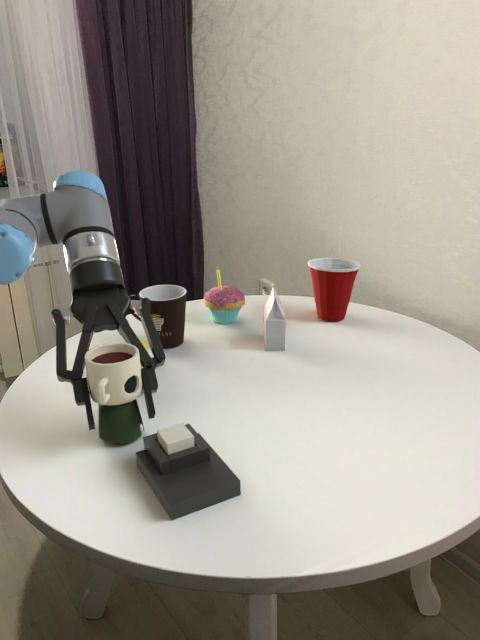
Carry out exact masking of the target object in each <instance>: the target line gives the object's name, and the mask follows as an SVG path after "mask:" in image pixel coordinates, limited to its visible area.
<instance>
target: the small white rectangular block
mask: <svg viewBox="0 0 480 640" xmlns="http://www.w3.org/2000/svg"><path fill="white" fill-rule="evenodd" d="M156 433H157V438H158V443H159V444H160V445H161V447H162V448H163V449H164V451H165V452H166V453H167V455H169V454H172V453H176V452H179V451H182V450H185V449H188V448H191V447H194V436H193V435H192V433H191V432H190V431H189V430H188V429H187V427H186V426H185V423H183V422H181V423H178V424H173V425H171V426H168V427H164V428H161V429H157V430H156Z"/></svg>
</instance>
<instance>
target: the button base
mask: <svg viewBox="0 0 480 640" xmlns="http://www.w3.org/2000/svg"><path fill="white" fill-rule="evenodd" d="M184 425H185V426H186V427H187V429H188V430H189V431H190V432H191V433H192V435H193V436H194V447H191V448H188V449H185V450H182V451H179V452H176V453H172V454H169V455H167V453H166V452H165V451H164V449H163V448H162V447H161V445H160V444H159V443H158V438H157V432H155V433H152V434H148V435H145V436H142V440H143V449H141V450H139V451H137V452H136V451H135V459H136V466H137V468H138V470H139V471H140V473H141V475H142V476H143V478H144V479H145V481H146V482H147V484H148V486H149V487H150V488H151V490H152V492H153V493H154V495H155V496H156V498H157V500H158V501H159V503H160V504H161V506H162V507H163V509H164V511H165V512H166V514H167V515H168V517H169V518H170V520H171V521H175V520H177V519H181V518H183V517H185V516H188V515H191V514H193V513H196V512H199V511H202V510H204V509H207V508H210V507H212V506H215V505H218V504H221V503H224V502H226V501H229V500H231V499H234V498H237V497H239V496H241V495H242V494H241V493H242V492H241V479H240V478H239V477H238V476H237V474H236V473H234V472H233V470H232V469H231V468H230V467H229V466H228V465H227V463H226V462H225V461H224V460H223V459H222V458H221V456H219V454H218V453H217V452H216V451H215V449H214V448H213V447H212V446H211V445H210V444H209V442H207V440H206V439H205V438H204V436H202V434H201V433H199V432H197V431H196V429H195V428H194V427H193V426H192V424H190V423H184Z"/></svg>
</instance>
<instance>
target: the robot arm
mask: <svg viewBox="0 0 480 640" xmlns="http://www.w3.org/2000/svg"><path fill="white" fill-rule="evenodd" d="M110 209H111V208H110V204H109V200H108V197H107V193H106V189H105V185H104V182H103V181H102V180H101V178H100V177H99V176H98V175H96V174H95V173H93V172H90V171H87V170H82V169H75V170H69V171H66V172H65V173H64V174H60V175H58V176H57V177H56V178H55V180H54V181H53V188H52V191H47V192H44V193H41V194H32V195H25V196H19V197H17V196H16V197H10V198H3V199H0V286H5V285H10V284H13V283H16V282H17V281H19V280H20V279H21V278H23V277H24V275H25V274H26V273H27V271H29V269H31V266H32V264H33V262H34V261H35V256H36V255H35V254H36V253H35V252H36V250H37V248H43V247H49V246H53V245H54V246H55V245H59V244H62V248H63V253H64V258H65V264H66V271H67V273H68V282H69V288H70V295H71V303H70V305H69V307H66V308H64V309H59V308H54V309H52V310H51V318H52V322H53V324H54V327H55V356H56V357H55V369H56V370H55V373H56V378H57V381H58V382H60V383H64V382H65V383H70V384H71V386H72V389H73V395H74V402H75V405H76V406H77V407H81V406H84V407H85V413H86V418H87V425H88V430H89V431H92V430H96V425H95V418H94V412H93V407H92V406H93V405H92V401H91V400H92V399H91V396H90V393H89V386H88V380H87V376H86V377H83V375H84V371H85V368H86V366H85V358H84V357H85V354H86V352H87V351H89V350H90V347H91V343H92V340H93V337H94V336H93V335H94V334H97V333H101V332H104V331H111V332H112V331H117V333H118V334H119V336H121V337H122V339H123V340H124V343H127V344H131V345H133V346H136V347H137V349H138V350H139V357H140V363H141V366H142V367H143V368H142V369H141V380H142V383H143V392H144V393H143V397H144V402H145V407H146V412H147V418H148V419H149V420H150V419H155V417H156V413H157V411H156V407H155V402H154V398H153V394H155V393H157V392H158V389H159V381H158V377H157V373H156V369H157V368H159V367H163V366H164V365H165V363H166V358H167V356H166V353H165V349H163V347H162V344H161V341H160V339H159V336H158V333H157V330H156V328H155V325H154V322H153V319H152V317H151V314H150V300H149V299H148V298H143V299H142V301H141V300H138V299H132V298H130V297H129V296H130V295H128V293H127V291H126V286H125V280H124V277H123V271H122V267H121V260H120V256H119V251H118V248H117V247H118V246H117V243H116V236H115V231H114V226H113V225H114V224H113V221H112V215H111V214H112V213H111V210H110ZM130 309H131V310H132V311H133V312H134V313H135V314H136V315H138V316H139V317H140V318H141V322H140V323H141V325H142V329H143V331H144V335H145V337H146V340H147V342H148V345H149V349H150V351H151V353H152V356H151V355H150V353H149V351H148V350H147V351H148V352H147V351H146V349H145V348H144V346H143V345H142V343H141V342H140V341H141V340H140V338H139V337H138V336H137V334H136V333H135V331H134V329H133V328H132V327H131V324H130V323H129V321H128V319H127V316H128V315H129V313H130V312H129V310H130ZM72 317H73V318H74V319H75V320H77V322H79V323H80V324H81V325H82V328H81V334H80V338H79V341H78V346H77V350H76V354H75V356H74V360H73V365H72V369H71V370H69V369H68V358H67V357H68V351H67V350H68V349H67V348H68V347H67V346H68V345H67V344H68V343H67V341H68V340H67V338H68V336H67V335H68V334H67V326H69V325H70V323H71V321H70V319H71V318H72Z"/></svg>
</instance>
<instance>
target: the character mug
mask: <svg viewBox="0 0 480 640" xmlns="http://www.w3.org/2000/svg"><path fill="white" fill-rule="evenodd" d="M98 345H99V346H98ZM98 345H95V346H96V347H95V346H94V347H91V348H89V351H87V352H86V354H85V357H84V358H85V372H86V377H87V382H88V388H89V394H90V399H91V400H92V401H93V402H94V403H96V404H98V419H97V420H98V421H97V422H98V424H97V425H98V437H99V439H101V440H103V441H104V442H107V443H112V444H120V445H121V444H123V445H126V444H130V443H133V442H135V441H137V440H138V439H140V438H141V437H143V434H142V433H143V432H145V426H144V422H143V418H142V414H141V411H140V407H139V403H138V400H137V399H139V398H140V397H141V396H142V390H143V383H142V380H141V363H140V357H139V350H138V349H137V347H136V346H133V345H131V344H127V343H126V342H120V341H119V342H108V343H103V344H98ZM141 426H142V428H141ZM142 430H143V432H142Z"/></svg>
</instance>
